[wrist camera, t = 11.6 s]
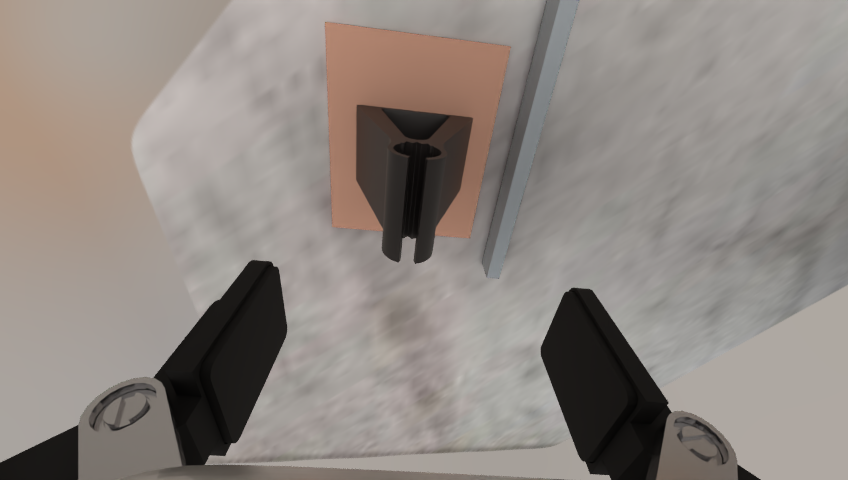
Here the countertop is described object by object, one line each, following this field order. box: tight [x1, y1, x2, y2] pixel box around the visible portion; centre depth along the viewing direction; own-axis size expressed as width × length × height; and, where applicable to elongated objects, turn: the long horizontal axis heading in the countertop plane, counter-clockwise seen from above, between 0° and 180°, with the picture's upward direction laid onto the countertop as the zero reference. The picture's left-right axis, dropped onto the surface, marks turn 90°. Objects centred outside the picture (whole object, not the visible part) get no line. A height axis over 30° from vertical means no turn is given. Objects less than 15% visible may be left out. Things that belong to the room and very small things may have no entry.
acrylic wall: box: [482, 0, 579, 279], centre depth 27 cm, size 1×22×2 cm, turn 174°
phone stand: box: [356, 105, 473, 264], centre depth 22 cm, size 9×6×12 cm, turn 83°
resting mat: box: [325, 22, 511, 238], centre depth 27 cm, size 13×16×1 cm
